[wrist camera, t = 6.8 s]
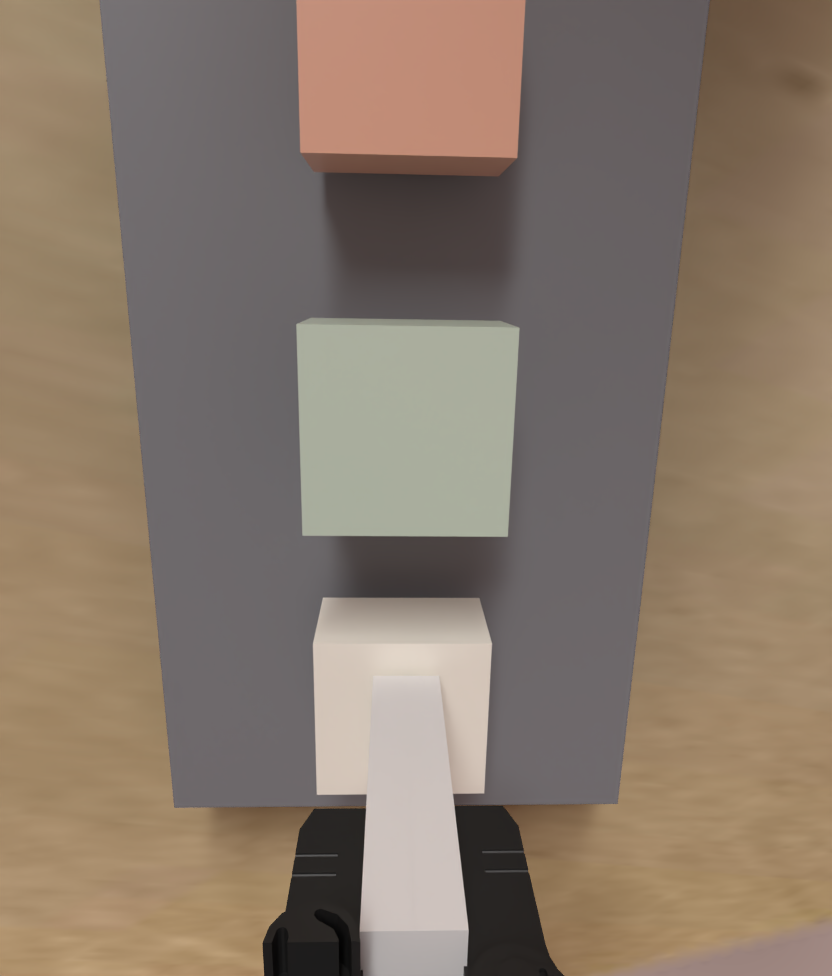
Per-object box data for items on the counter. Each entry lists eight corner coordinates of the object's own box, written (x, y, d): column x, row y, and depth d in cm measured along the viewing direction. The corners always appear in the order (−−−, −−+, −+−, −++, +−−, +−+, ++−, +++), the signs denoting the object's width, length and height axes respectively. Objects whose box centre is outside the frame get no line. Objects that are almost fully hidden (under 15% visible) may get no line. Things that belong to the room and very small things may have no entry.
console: (200, 743, 23) (174, 807, 21) (132, -130, 17) (79, -215, 14) (590, 740, 24) (617, 803, 21) (674, -109, 17) (731, -187, 14)
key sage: (326, 467, 19) (302, 536, 14) (323, 312, 18) (296, 324, 13) (476, 468, 19) (507, 536, 14) (483, 314, 18) (519, 327, 13)
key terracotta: (326, 189, 18) (300, 152, 13) (322, 8, 17) (293, -108, 12) (482, 192, 18) (517, 157, 13) (489, 13, 17) (530, -100, 12)
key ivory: (334, 676, 22) (316, 794, 17) (331, 555, 21) (312, 643, 16) (462, 675, 22) (484, 793, 17) (467, 556, 21) (492, 643, 16)
